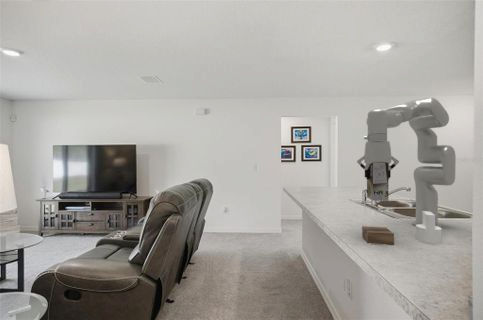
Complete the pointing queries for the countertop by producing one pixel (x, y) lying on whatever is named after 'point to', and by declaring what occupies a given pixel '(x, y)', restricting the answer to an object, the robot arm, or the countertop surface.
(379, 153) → the robot arm
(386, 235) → the walnut block
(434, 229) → the base with upright slab
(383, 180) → the coffee box
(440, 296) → the countertop surface
